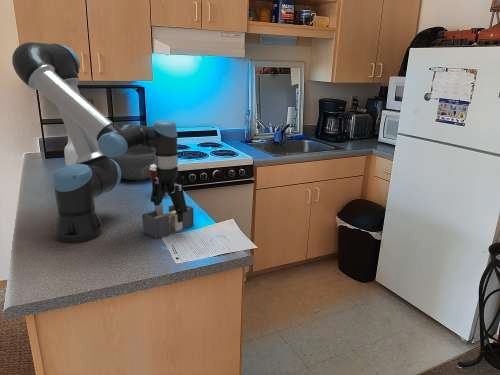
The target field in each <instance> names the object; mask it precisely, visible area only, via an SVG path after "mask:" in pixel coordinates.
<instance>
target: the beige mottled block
mask: <svg viewBox="0 0 500 375" xmlns="http://www.w3.org/2000/svg"><path fill="white" fill-rule="evenodd" d="M175 213H176V211H175V210H174V211H171V212H169V211H168V212H165V213H163V214H162V215H159V216H156V217H153V218H155V219H157V218H160V217H163V216H166V215H167V216H168V217H169V231H170V230H172V229H175Z"/></svg>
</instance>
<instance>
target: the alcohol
mask: <svg viewBox="0 0 500 375" xmlns="http://www.w3.org/2000/svg"><path fill="white" fill-rule="evenodd" d="M63 153H64V154H63V155H64V161H65V166H71V165H73V164H76V161H77V159H78V156H77V154H76V151H75V149H74V146H73V144H72V142H71V139H70V137H69V134H68V133H67V144H66V145H65V147H64V151H63Z"/></svg>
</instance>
